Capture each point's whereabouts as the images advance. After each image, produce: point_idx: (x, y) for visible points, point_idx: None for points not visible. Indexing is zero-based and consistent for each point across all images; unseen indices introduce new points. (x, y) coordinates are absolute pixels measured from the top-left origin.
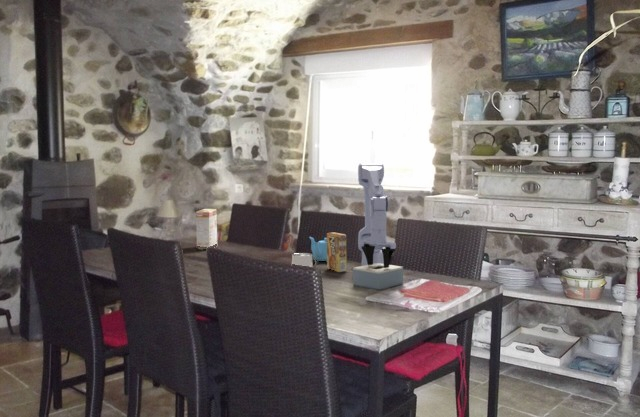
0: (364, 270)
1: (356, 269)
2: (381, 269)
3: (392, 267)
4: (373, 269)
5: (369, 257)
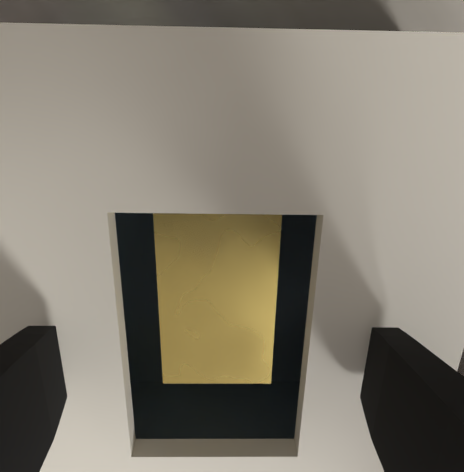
0: (255, 30)
1: (454, 32)
2: (51, 254)
3: (63, 451)
4: (141, 163)
5: (433, 448)
